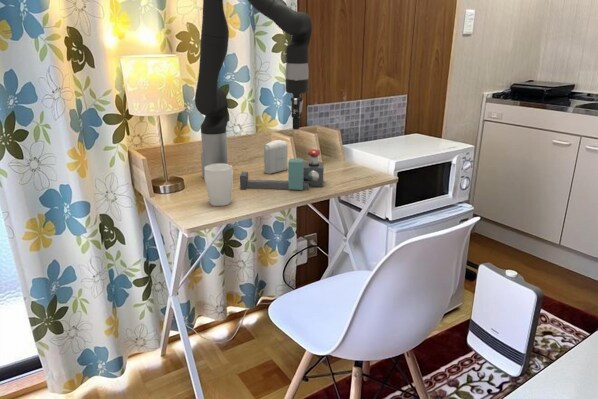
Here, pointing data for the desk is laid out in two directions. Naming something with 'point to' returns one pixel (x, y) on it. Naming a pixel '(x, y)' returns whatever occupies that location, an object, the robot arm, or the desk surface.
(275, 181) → the rail unit
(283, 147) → the white rounded block
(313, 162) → the plunger
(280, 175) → the desk surface
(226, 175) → the cup
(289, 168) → the carriage
